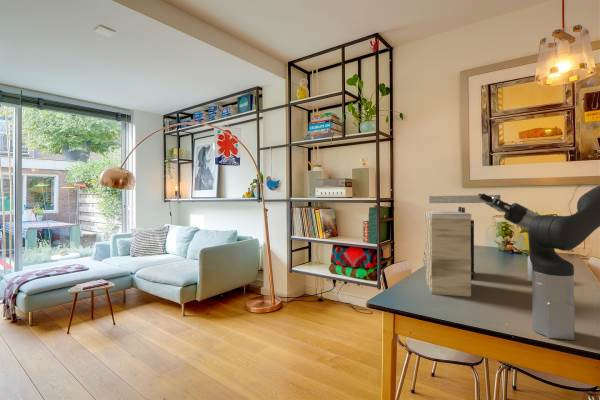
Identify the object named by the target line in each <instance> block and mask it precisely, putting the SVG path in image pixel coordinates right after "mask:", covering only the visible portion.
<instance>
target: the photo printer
mask: <svg viewBox="0 0 600 400" xmlns="http://www.w3.org/2000/svg"><path fill="white" fill-rule="evenodd" d="M526 280H527V281H528V282H531V283H532V263H531V261H530V255H528V256H527V260H526Z"/></svg>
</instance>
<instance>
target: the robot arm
mask: <svg viewBox="0 0 600 400" xmlns="http://www.w3.org/2000/svg"><path fill="white" fill-rule="evenodd" d="M477 195H481V196H480V198H481V199H482V200H484V201H486V202H489V203H484V204H485V205H487V206H489V207H490V208H492V209H495V210H496V211H497V212H499V213H504V214H503V219H504V220H506V221H508V222H510V223H512V224H514V225H516V226H518V227H520V228H521V229H525V230H527V234H528V235H527V236H528V237H527V238H528V251H529V255H530V261H531V263H532V282H531V283H532V284H531V285H532V286H531V288H532V289H531V294H532V295H531V297H532V298H531V301H532V303H531V304H532V305H531V306H532V307H531V308H532V309H531V313H532V314H531V318H532V319H531V320H532V322H531V323H532V324H531V325H532V330H533V331H534V332H535V333H537V334H540V335H541V336H544V337H546V338H547V339H559V340H569V341H570V340H571V341H575V267H574V264H573V263H572V262H570V261H568V260H566V259H565V258H563V257H561V256H560V255H559V254H558V253H557V252H556V251H555V250H560V251H566V252H567V251H571V250H574V249H575V248H577V247H578V246H580V245H581V244H582V243H583V242H584V241H585V240H587V238H589V236H590V235H591V234H592V233H594V232H595V231H596V230H597V229H598V228H600V185H597V186H595V187H593V188H592V189H590V190H588V191H587V192H585V193H584V194H582V195H581V196H580V197H579V199H578V201H577V203H576V210H577V211H576V212H575V213H574V214H570V215H549V214H547V215H546V214H538V213H536V212H535V211H533V210H531V209H529V208H528V207H525V206H523V205H522V204H519V203H516V202H514V203H511V204H509V203H508V202H505V201H503V200H501V199H500V200H498V199H496V198H492V197H490V196H488V195H489V194H486V193H478V194H477ZM529 255H528V256H529Z"/></svg>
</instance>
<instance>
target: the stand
mask: <svg viewBox="0 0 600 400" xmlns="http://www.w3.org/2000/svg"><path fill="white" fill-rule="evenodd" d="M471 220H472V213H469V212H466V207H464V206H463V207H462V206H458V209H457V210H424V223H425V225H424V229H425V230H424V231H425V232H424V236H425V237H424V241H425V242H424V243H425V244H424V245H425V246H424V247H425V249H424V251H425V252H424V253H425V255H424V256H425V282H426V284H427V287H428V286H429V287H428V289H429V291H430V293H431V294H432V295H443V296H456V297H457V296H458V297H459V296H460V297H472V281H471V280H472V278H471Z"/></svg>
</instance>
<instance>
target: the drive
mask: <svg viewBox="0 0 600 400" xmlns="http://www.w3.org/2000/svg"><path fill="white" fill-rule="evenodd" d="M487 195H488V196H490V197H492V198H496V199H498V200H501V194H487ZM480 196H481V195H478V194H474V195H470V194H469V195H428V203H429V204H485V203H489V202H486V201H484V200H482V199H481V198H480Z"/></svg>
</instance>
